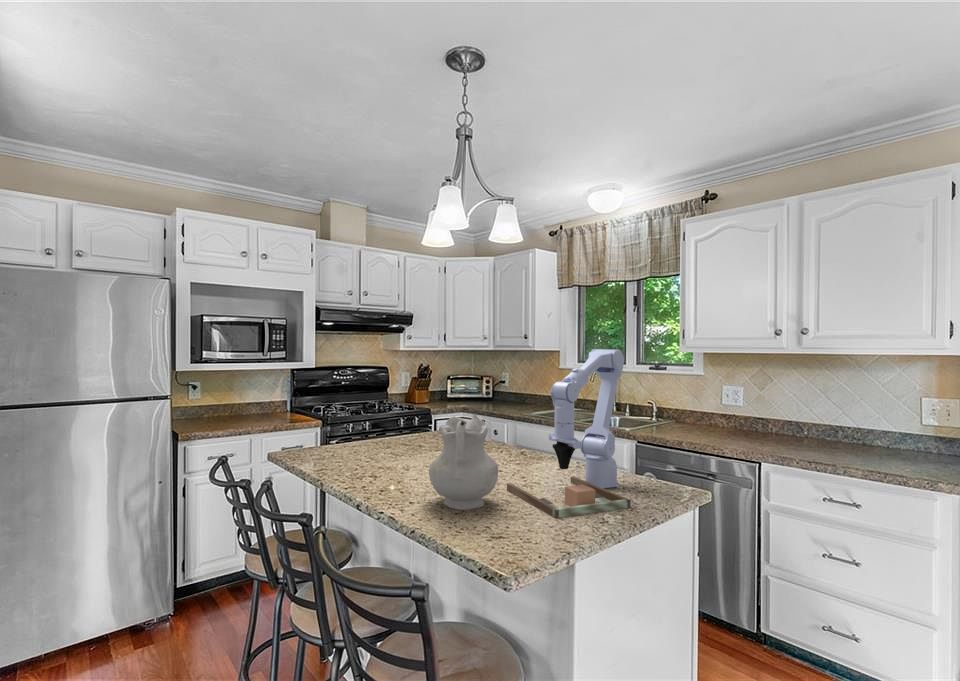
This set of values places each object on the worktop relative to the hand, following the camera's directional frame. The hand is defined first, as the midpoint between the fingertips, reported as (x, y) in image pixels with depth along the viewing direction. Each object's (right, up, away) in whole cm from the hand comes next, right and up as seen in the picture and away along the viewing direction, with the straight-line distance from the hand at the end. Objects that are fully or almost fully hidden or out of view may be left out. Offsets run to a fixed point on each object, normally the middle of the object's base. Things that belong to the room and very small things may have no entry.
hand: (563, 468), depth 154 cm
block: (+3, -9, -8) cm, 12 cm away
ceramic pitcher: (-29, -8, -8) cm, 32 cm away
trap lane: (0, -8, -1) cm, 8 cm away
